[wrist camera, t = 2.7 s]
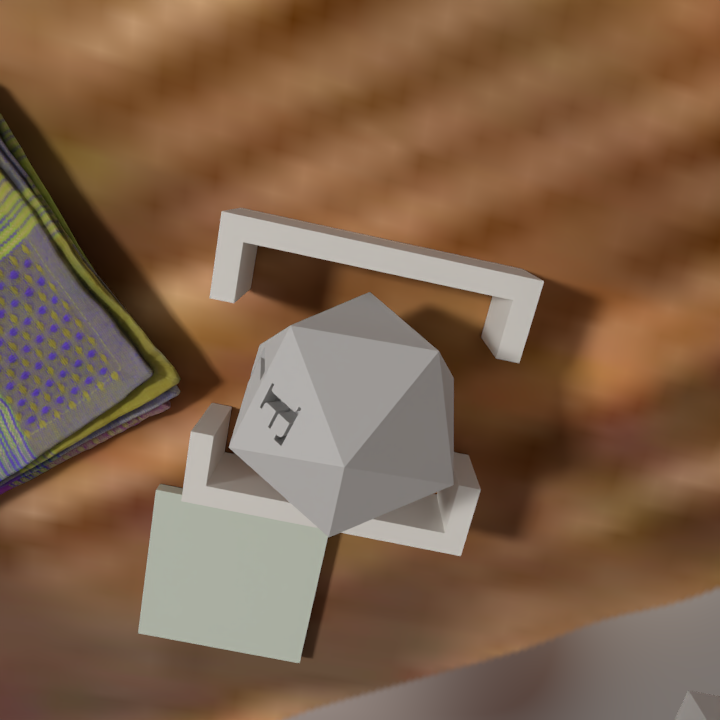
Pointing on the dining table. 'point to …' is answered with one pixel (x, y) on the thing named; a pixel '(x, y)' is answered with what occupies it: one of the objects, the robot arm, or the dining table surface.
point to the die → (349, 415)
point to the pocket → (504, 283)
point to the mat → (229, 578)
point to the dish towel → (62, 337)
